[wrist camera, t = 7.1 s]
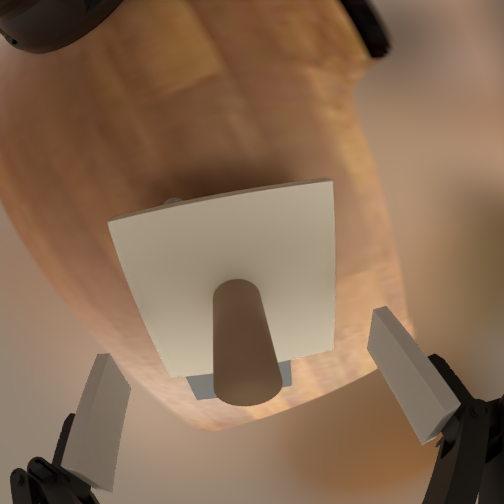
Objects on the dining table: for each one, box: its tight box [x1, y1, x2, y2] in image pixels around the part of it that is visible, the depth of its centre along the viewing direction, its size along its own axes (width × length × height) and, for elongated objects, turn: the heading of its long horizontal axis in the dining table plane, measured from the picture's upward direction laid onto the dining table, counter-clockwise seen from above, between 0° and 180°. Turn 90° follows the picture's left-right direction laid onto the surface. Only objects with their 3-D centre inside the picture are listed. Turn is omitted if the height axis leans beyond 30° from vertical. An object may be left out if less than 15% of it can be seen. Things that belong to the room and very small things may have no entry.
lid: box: [107, 178, 336, 406], centre depth 15 cm, size 13×13×8 cm
